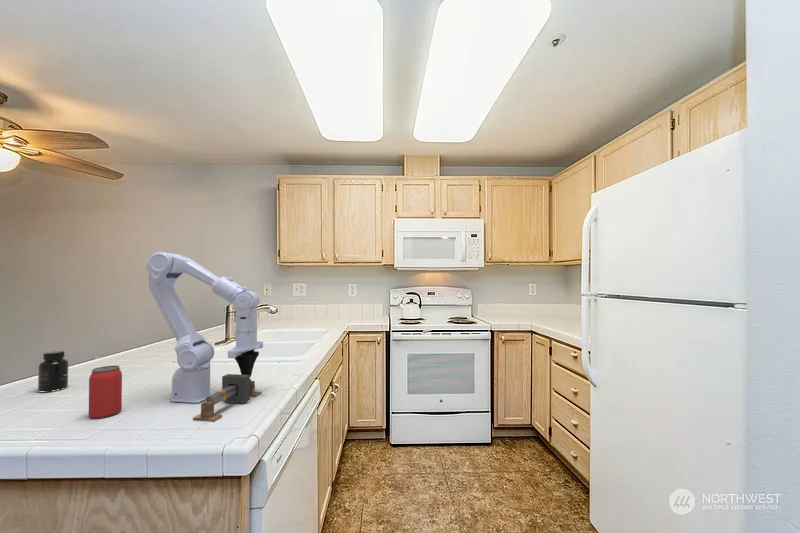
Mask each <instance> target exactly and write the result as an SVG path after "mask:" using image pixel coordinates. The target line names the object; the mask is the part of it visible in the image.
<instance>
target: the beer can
mask: <svg viewBox="0 0 800 533" xmlns="http://www.w3.org/2000/svg"><path fill="white" fill-rule="evenodd" d="M120 368H121V367H120V365H105V366H99V367H96V368H93V369H91V374H90V375H89V379H88V417H89V418H91V419H102V418H101V417H104V418H108V417H107V416H109V417H112V416H114V414H115V415H116V414H118V413H120V412H121V411H122V407H123V406H122V403H123V402H122V401H123V399H122V398H123V395H122V394H123V372H122V370H121V369H120ZM111 415H112V416H111Z"/></svg>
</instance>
